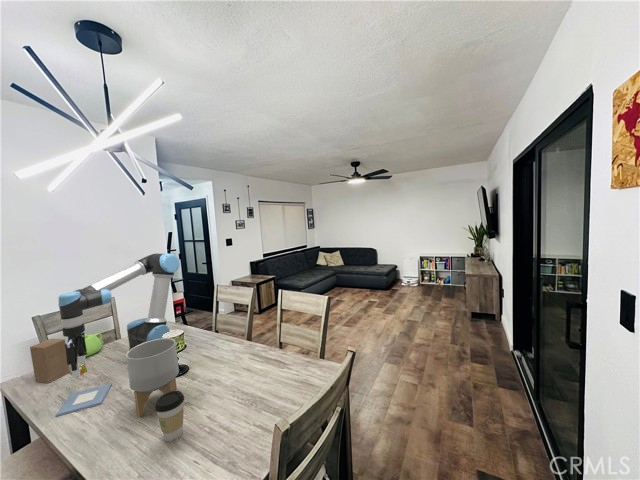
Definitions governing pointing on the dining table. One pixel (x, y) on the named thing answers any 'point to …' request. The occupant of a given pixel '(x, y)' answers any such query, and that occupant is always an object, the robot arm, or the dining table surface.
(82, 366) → the rubik's cube
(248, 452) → the dining table surface
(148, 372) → the planter
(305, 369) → the dining table surface
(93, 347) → the teapot
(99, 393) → the plate
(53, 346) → the wooden block
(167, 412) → the coffee cup
